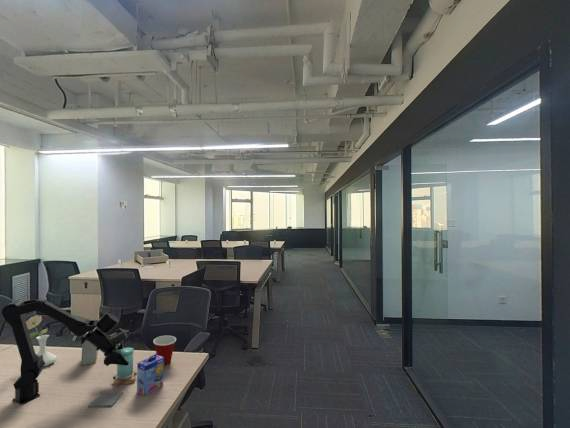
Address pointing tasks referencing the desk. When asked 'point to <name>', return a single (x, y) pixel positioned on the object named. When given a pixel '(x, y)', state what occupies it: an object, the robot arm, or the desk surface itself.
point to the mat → (105, 399)
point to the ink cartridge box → (150, 374)
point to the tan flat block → (124, 379)
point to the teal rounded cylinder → (128, 355)
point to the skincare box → (88, 353)
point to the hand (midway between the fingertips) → (128, 361)
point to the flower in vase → (41, 340)
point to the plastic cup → (165, 347)
